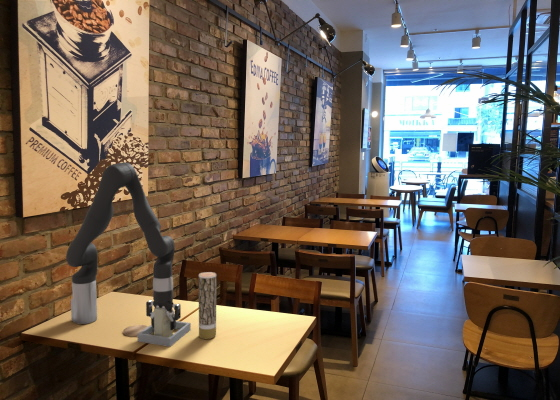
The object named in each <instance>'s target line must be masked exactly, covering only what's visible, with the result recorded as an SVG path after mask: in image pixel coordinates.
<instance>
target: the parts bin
mask: <svg viewBox="0 0 560 400" xmlns="http://www.w3.org/2000/svg"><path fill="white" fill-rule="evenodd" d="M191 329H192V328H191V322H186V321H178V320H177V321H176V328H175V329H174V330H177V331H176V332H173V335H172V336H170V337H163V336H156V335H154V328H153V327H152V325H151V324H150V325H149V326H148V327H147V328H146V329H144V330H143V331H141V332H140V333H138V336H137V342H139V343H146V344H152V345H159V346H164V347H172V346H173V345H174V344H176V343H177V342H178V341H179V340H180V339H182V338H183V337H184V336H185V335H186V334H188V333H189V332H190V331H191Z"/></svg>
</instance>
